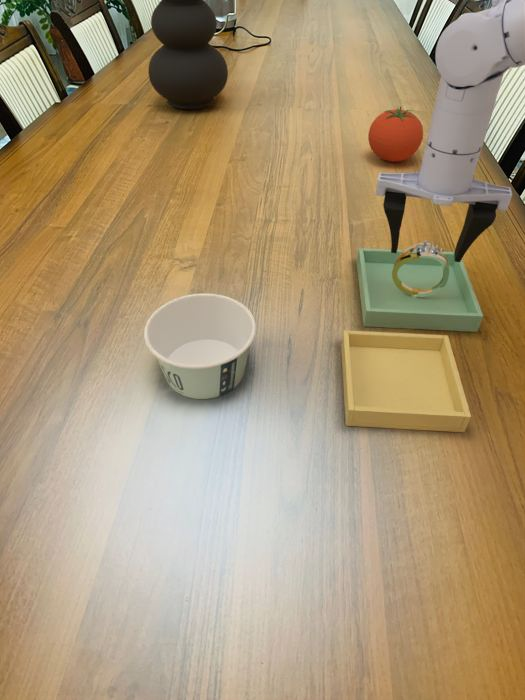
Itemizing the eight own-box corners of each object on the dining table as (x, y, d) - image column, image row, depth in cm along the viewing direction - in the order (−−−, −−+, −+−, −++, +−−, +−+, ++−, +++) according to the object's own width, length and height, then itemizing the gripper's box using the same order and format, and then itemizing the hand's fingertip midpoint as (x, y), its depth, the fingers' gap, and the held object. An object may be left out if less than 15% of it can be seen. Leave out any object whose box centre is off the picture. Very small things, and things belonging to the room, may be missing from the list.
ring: (442, 294, 68) (458, 243, 63) (439, 308, 66) (456, 256, 61) (390, 284, 70) (401, 232, 65) (386, 297, 68) (397, 245, 62)
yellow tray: (442, 351, 61) (448, 335, 60) (464, 432, 53) (471, 416, 51) (340, 346, 62) (343, 330, 60) (345, 425, 53) (348, 409, 51)
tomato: (354, 154, 103) (361, 102, 96) (395, 145, 106) (404, 94, 99) (386, 174, 96) (395, 120, 89) (428, 164, 99) (440, 110, 93)
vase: (220, 119, 117) (209, -81, 92) (142, 114, 119) (112, -83, 94) (235, 93, 130) (230, -88, 105) (165, 89, 132) (144, -89, 107)
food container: (277, 366, 59) (279, 323, 55) (203, 427, 53) (197, 385, 48) (206, 321, 65) (202, 279, 61) (131, 372, 59) (120, 329, 54)
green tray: (454, 267, 74) (459, 252, 72) (477, 332, 64) (483, 316, 62) (356, 263, 75) (358, 248, 73) (363, 326, 65) (366, 310, 63)
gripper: (381, 151, 53) (363, 262, 62) (530, 167, 50) (488, 280, 59) (387, 127, 58) (369, 232, 67) (523, 140, 55) (484, 248, 64)
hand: (425, 253), depth 64 cm, fingers open, 7 cm apart
